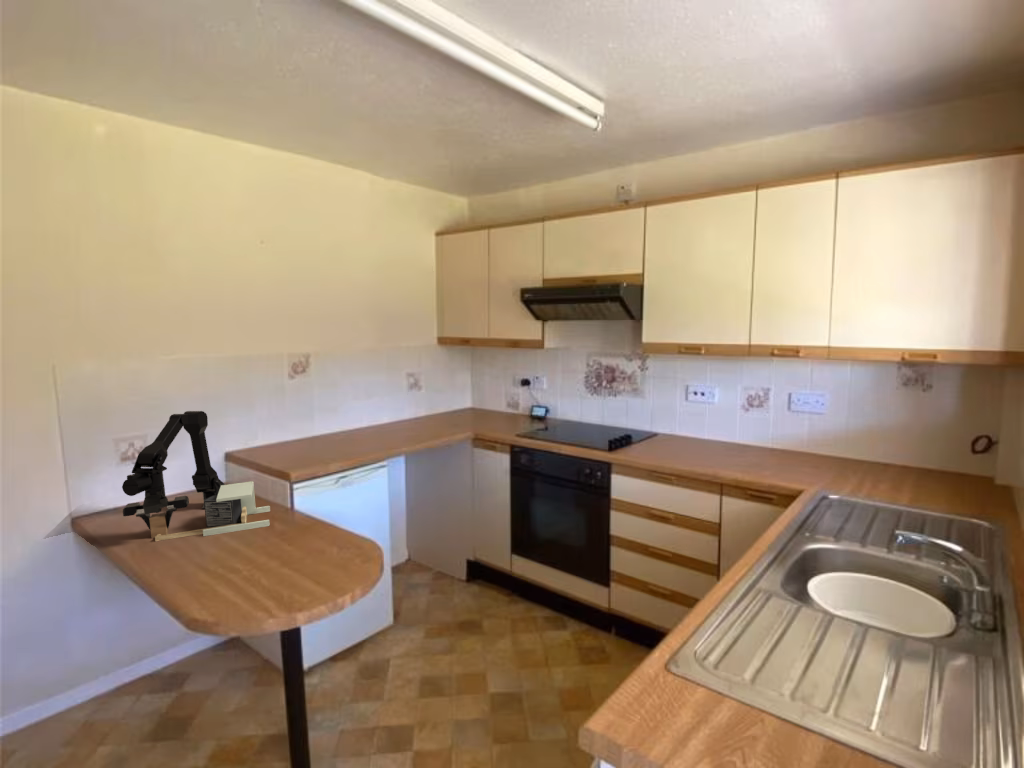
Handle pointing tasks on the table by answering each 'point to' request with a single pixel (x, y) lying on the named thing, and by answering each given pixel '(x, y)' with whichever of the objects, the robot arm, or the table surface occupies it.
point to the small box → (222, 512)
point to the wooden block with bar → (161, 532)
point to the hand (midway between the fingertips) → (159, 529)
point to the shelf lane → (247, 499)
